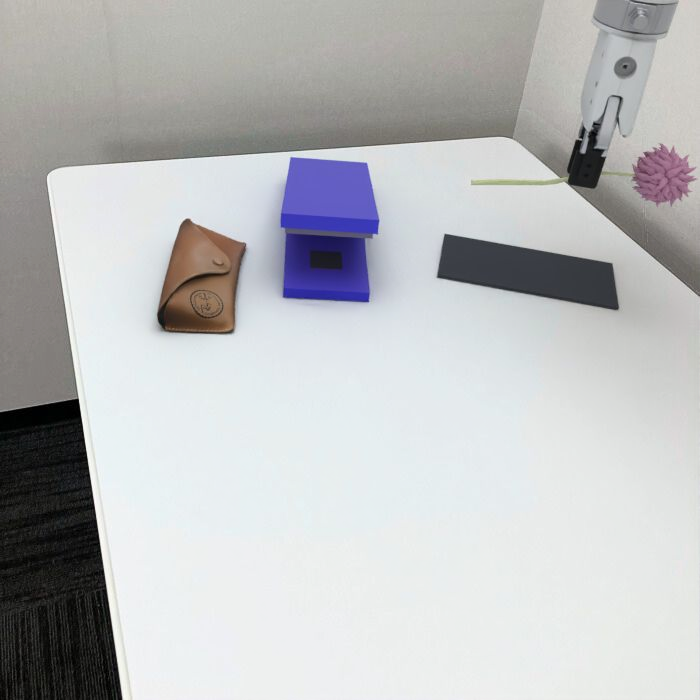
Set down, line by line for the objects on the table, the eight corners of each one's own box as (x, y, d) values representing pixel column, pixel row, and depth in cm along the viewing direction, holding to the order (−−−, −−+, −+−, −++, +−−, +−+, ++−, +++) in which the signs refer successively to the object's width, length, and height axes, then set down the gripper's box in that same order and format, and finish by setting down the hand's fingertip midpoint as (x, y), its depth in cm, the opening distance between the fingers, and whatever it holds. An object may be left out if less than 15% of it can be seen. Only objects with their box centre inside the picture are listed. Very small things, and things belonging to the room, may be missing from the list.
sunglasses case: (239, 331, 82) (205, 285, 78) (182, 354, 84) (146, 311, 80) (248, 240, 96) (219, 197, 92) (199, 262, 98) (169, 221, 94)
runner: (611, 265, 101) (612, 263, 100) (618, 310, 93) (619, 307, 93) (444, 236, 102) (444, 233, 102) (437, 277, 95) (437, 274, 94)
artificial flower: (476, 227, 87) (700, 213, 86) (477, 166, 83) (711, 151, 83) (467, 206, 92) (678, 193, 92) (468, 148, 89) (687, 134, 88)
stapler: (277, 297, 88) (280, 222, 82) (283, 180, 110) (286, 114, 104) (377, 302, 89) (387, 228, 83) (364, 185, 111) (371, 120, 105)
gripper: (684, 43, 70) (619, 220, 82) (661, -4, 82) (608, 156, 94) (601, 31, 71) (549, 207, 83) (590, -14, 83) (546, 145, 95)
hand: (581, 179), depth 88 cm, fingers closed on artificial flower
